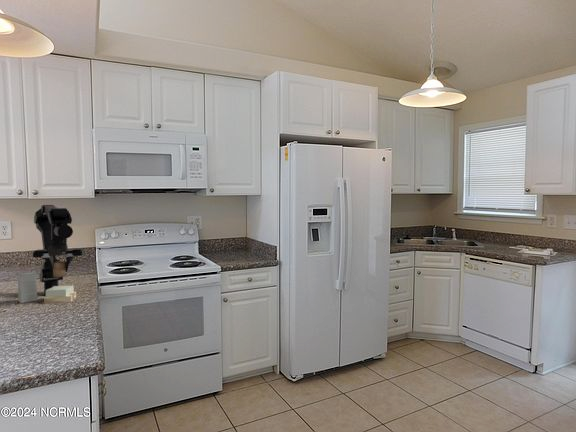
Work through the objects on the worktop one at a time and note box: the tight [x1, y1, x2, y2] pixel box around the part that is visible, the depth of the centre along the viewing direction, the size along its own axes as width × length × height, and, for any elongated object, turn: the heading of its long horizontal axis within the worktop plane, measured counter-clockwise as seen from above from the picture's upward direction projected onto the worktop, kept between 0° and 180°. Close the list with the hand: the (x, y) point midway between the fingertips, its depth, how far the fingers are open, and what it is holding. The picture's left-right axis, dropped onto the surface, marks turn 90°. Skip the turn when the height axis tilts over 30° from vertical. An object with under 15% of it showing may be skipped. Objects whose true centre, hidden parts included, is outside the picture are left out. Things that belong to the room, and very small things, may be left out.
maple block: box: [43, 290, 77, 305], centre depth 167 cm, size 10×10×3 cm
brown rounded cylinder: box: [53, 260, 67, 277], centre depth 167 cm, size 5×5×6 cm
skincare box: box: [17, 271, 38, 304], centre depth 165 cm, size 6×4×12 cm
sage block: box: [45, 285, 75, 297], centre depth 167 cm, size 8×8×3 cm
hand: (59, 272), depth 167 cm, fingers closed on brown rounded cylinder, 5 cm apart
